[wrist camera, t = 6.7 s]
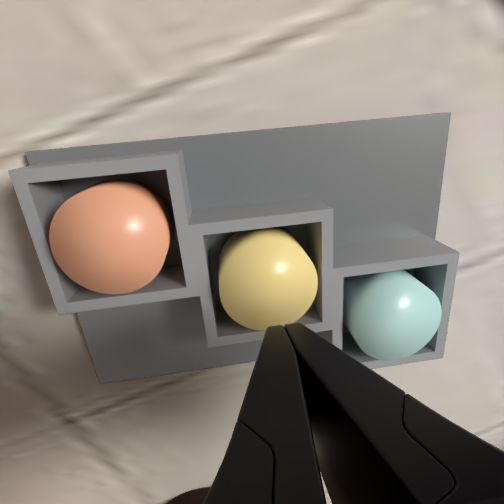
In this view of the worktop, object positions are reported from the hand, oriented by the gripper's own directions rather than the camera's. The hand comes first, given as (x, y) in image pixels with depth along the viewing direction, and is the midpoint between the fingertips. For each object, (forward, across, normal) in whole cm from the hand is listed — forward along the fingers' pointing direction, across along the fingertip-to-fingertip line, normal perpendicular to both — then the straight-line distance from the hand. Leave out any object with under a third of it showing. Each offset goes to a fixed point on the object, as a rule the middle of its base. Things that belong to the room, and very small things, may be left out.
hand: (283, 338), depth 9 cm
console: (+6, 0, 0) cm, 6 cm away
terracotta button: (+5, +5, -2) cm, 7 cm away
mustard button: (+5, 0, 0) cm, 5 cm away
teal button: (+5, -5, +2) cm, 7 cm away
